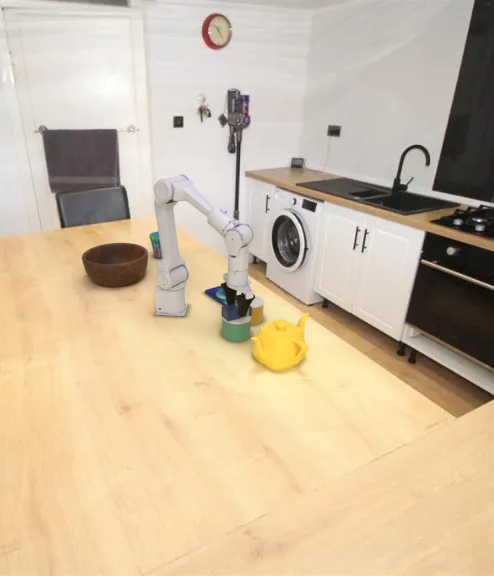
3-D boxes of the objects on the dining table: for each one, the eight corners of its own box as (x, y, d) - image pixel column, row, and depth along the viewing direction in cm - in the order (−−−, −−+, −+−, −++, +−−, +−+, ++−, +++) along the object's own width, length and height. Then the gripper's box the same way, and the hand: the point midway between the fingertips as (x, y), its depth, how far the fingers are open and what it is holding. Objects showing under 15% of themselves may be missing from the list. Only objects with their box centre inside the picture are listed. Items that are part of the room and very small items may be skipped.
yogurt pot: (220, 341, 120) (220, 322, 117) (222, 325, 127) (222, 308, 125) (250, 342, 119) (251, 324, 116) (250, 327, 127) (251, 309, 124)
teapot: (274, 390, 100) (277, 353, 95) (232, 360, 111) (233, 326, 106) (330, 358, 112) (336, 324, 107) (288, 334, 123) (291, 302, 118)
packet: (227, 321, 117) (227, 312, 116) (221, 315, 121) (221, 306, 119) (251, 315, 120) (252, 306, 119) (245, 310, 124) (245, 301, 122)
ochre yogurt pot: (235, 324, 128) (235, 306, 125) (236, 311, 136) (236, 294, 133) (263, 325, 127) (264, 308, 125) (262, 312, 135) (263, 295, 133)
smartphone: (220, 285, 152) (245, 300, 141) (220, 287, 153) (245, 302, 141) (203, 290, 149) (227, 306, 137) (203, 292, 149) (227, 308, 137)
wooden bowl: (71, 284, 155) (67, 259, 151) (109, 262, 176) (106, 239, 172) (127, 295, 147) (125, 269, 142) (160, 270, 168) (159, 246, 163)
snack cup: (149, 251, 189) (147, 229, 184) (171, 249, 191) (170, 228, 186) (152, 263, 175) (151, 240, 171) (176, 261, 177) (176, 238, 173)
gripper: (264, 275, 109) (261, 319, 115) (238, 257, 121) (237, 298, 127) (240, 279, 107) (239, 324, 113) (216, 260, 119) (216, 302, 125)
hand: (236, 310), depth 120 cm, fingers open, 7 cm apart
